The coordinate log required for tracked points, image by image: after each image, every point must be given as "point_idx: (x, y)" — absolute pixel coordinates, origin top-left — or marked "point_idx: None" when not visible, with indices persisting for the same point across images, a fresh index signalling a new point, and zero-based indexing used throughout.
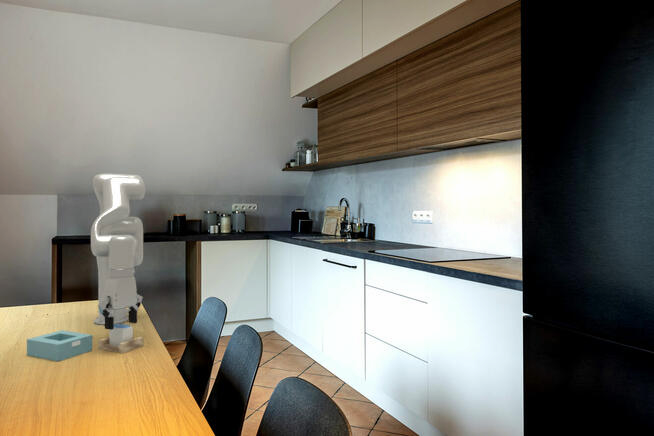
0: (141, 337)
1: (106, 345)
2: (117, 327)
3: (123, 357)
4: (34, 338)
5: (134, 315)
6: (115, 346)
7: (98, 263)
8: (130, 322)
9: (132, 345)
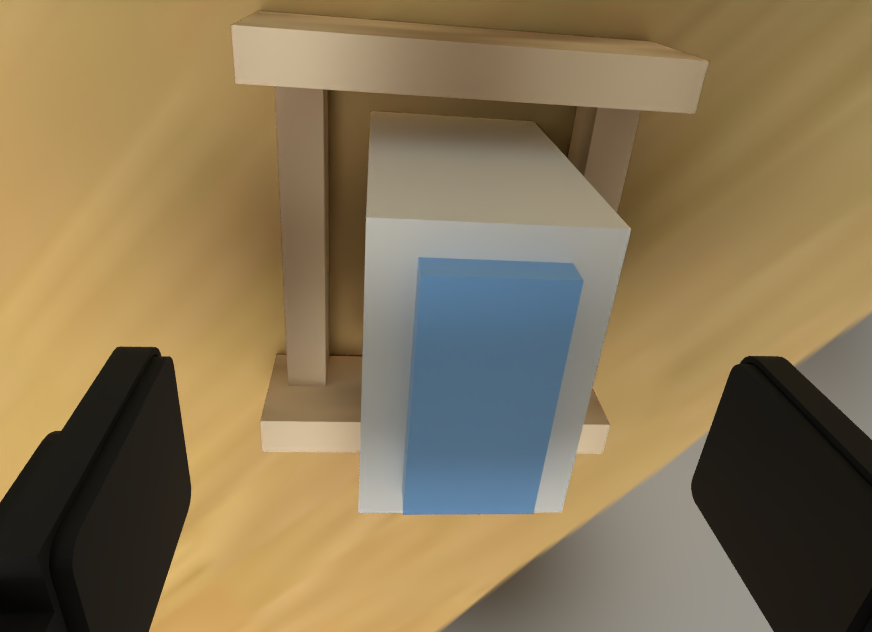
0: (579, 452)
1: (283, 158)
2: (412, 368)
3: (201, 470)
4: None
5: (770, 597)
6: (305, 297)
7: None
8: (719, 403)
9: None
